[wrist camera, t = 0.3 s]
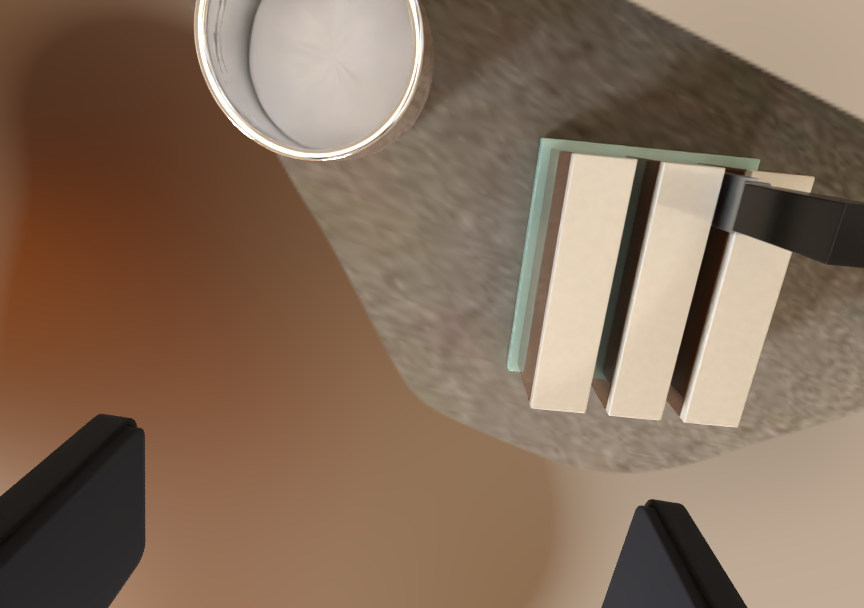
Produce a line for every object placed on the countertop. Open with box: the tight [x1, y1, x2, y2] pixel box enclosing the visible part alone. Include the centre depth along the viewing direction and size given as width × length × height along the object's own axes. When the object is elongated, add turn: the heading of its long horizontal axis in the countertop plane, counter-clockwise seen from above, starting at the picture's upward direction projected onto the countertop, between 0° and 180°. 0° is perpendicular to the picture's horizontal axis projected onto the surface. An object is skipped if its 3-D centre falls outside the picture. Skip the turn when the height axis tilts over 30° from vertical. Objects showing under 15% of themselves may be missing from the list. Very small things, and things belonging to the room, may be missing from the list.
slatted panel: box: [507, 138, 815, 427], centre depth 30 cm, size 14×12×6 cm
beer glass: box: [194, 0, 434, 161], centre depth 22 cm, size 7×7×15 cm
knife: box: [711, 173, 864, 268], centre depth 24 cm, size 2×1×14 cm, turn 175°
